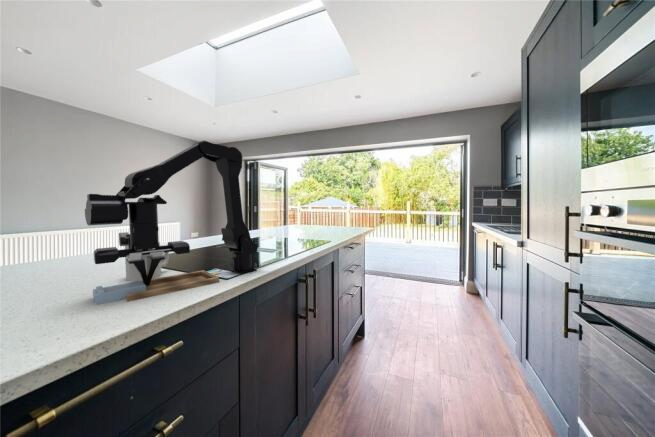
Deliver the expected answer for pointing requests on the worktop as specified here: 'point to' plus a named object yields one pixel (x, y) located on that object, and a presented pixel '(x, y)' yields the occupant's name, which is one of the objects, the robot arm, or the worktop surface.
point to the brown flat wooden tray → (174, 284)
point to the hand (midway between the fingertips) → (146, 285)
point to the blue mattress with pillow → (117, 291)
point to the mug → (133, 273)
